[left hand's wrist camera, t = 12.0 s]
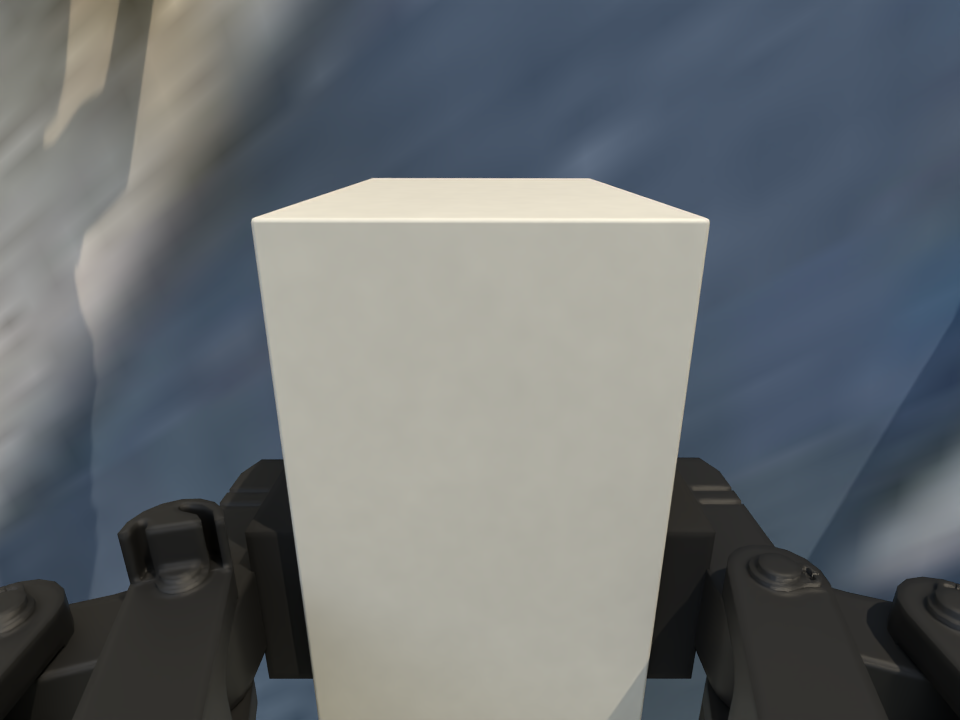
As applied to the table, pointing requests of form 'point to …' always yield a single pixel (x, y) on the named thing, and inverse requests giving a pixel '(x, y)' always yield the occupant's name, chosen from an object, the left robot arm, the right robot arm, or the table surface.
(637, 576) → the bar
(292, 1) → the table surface
